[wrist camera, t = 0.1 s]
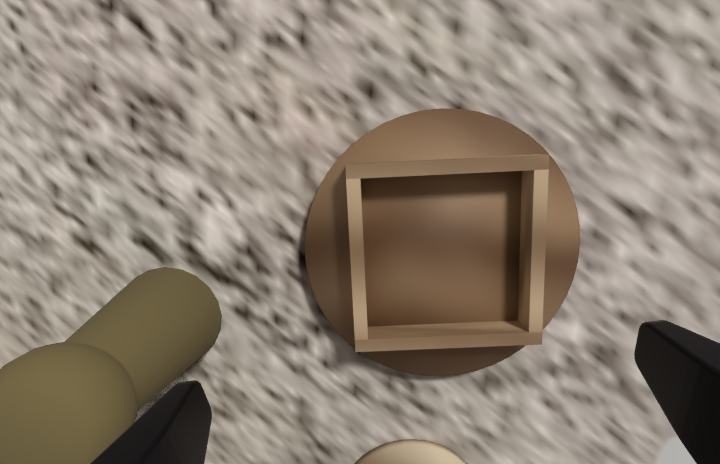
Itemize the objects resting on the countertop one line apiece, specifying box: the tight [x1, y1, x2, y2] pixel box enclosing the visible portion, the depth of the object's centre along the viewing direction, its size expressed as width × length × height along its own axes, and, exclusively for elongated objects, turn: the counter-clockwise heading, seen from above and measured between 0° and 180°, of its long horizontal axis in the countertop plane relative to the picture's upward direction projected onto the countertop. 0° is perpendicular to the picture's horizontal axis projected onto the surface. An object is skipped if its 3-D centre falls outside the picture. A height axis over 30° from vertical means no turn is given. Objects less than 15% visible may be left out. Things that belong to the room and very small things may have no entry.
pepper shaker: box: [0, 267, 222, 464], centre depth 19 cm, size 6×6×11 cm
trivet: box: [305, 109, 580, 376], centre depth 23 cm, size 15×15×3 cm
